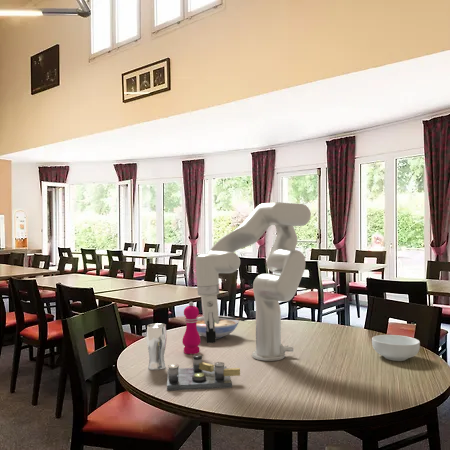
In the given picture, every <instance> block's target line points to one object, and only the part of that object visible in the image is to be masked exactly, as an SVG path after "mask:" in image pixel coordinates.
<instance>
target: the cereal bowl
mask: <svg viewBox="0 0 450 450" xmlns="http://www.w3.org/2000/svg"><path fill="white" fill-rule="evenodd" d="M371 346H372V348H373V350H374V351H375V352H376V353H377V354H379V355H380V356H382V357H384V358H385V359H386V360H389V361H395V362H402V361H403V362H404V361H406V360H408V359H410V358H414V357H415V356H417V354H418V353H419V351H420V348H421V342H420V340H419V339H417V338H414V337H410V336H407V335H400V334H399V335H398V334H380V335H374V336H373V337H371Z"/></svg>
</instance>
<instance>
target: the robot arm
mask: <svg viewBox="0 0 450 450" xmlns="http://www.w3.org/2000/svg"><path fill="white" fill-rule="evenodd" d="M311 216H312V215H311V210H310V208H309V206H307V205H305V204H304V203H296V202H295V203H292V202H291V203H290V202H282V201H281V202H274V201H273V202H263V203H260V204H259V205H257V206H256V207H255V208H254V209H253V211H251V213H250V214H249V215H248V216H247V217H246V218H245V219H244V220H243V222H242V223H241V224H240V225H239V226H238V227H237V228H236V229H234V230H232V231H231V232H229V233H227V234H226V235H224V236H223V237H221V238H220V239H219V240H218V241H217V242H216V243H215V244H214V245H213V246H212V247H211V248H210V250H209V251H208V252H207V253H203V254H198V255H197V256H196V257H195V271H196V272H195V273H196V285H197V287H196V288H197V289H196V290H197V296H198V297H199V296H200V298H201V299H200V300H201V311H202V312H201V313H202V317H203V318H204V322H205V324H206V330H207V331H206V337H205V340H206V344H215V343H217V339H216V332H215V322H216V323H217V324H218V323H219V316H220V315H219V308H218V307H219V304H218V295H219V294H220V282H219V281H220V279H219V278H220V277H219V274H233V273H234V272H236V271H238V269H239V268H240V265H241V259H240V257H239V255H238V254H236V253H235V252H236V251H238V250H241V249H244V248H248V247H249V246H252V245H255V244H256V243H257V242H258V241H259V240H260V238H261V237H262V236H263V235H264V234H265V232H266V231H267V229H269V227H272V226H274V227H275V230H276V231H275V232H276V237H275V240H274V242H273V245H272V247H271V249H270V252H269V254H268V257H267V260H266V267H267V270H269V271H270V272H272V273H261V274H258V275H257V276H256V277H255V279H254V280H253V283H252V289H253V290H252V291H253V297H254V302H255V350H253V351H252V353H251V356H252V358H254V359H255V360H258V361H265V362H274V361H281V360H283V359H285V357H286V352H294V346H292V345H291V346H289V345H283V344H282V330H281V329H282V326H281V325H282V322H281V321H282V318H281V316H282V315H281V314H282V312H281V311H282V310H281V305H280V302H290V301H291V300H292V299H293V298H294V297H295V295H296V293H297V290H298V288H299V285H300V283H301V281H302V277H303V275H304V273H305V269H306V258H305V255H304V253H303V252H301V251H300V250H297V249H296V247H297V244H298V236H297V232H296V230H295V227H303V226H305V225H307V224H308V223H309V222H310V220H311V218H312V217H311ZM214 320H215V322H214Z"/></svg>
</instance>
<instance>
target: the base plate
mask: <svg viewBox="0 0 450 450" xmlns="http://www.w3.org/2000/svg"><path fill="white" fill-rule="evenodd" d="M224 369H227V366H225V365H224ZM166 376H167V377H166V379H167V381H166V391H170V392H171V391H189V390H209V389H211V390H212V389H230V388H231V389H232V388H233V381H232V379H231V376H224V379H221V380H218V379H215V366H214V371H213V372H209V371H205V370H201V371H193V367H183V368H182V367H179V368H178V381H175V382H171V381H169V368H168V369H167V375H166Z"/></svg>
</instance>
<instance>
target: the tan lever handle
mask: <svg viewBox="0 0 450 450" xmlns="http://www.w3.org/2000/svg"><path fill="white" fill-rule="evenodd" d="M192 360H193V361H192V368H193V371H201V370H205V371H209V372H213V371H214V367H215V366H214V364H211V363H208V362H204V361H203V355H202V354H193V355H192Z"/></svg>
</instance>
